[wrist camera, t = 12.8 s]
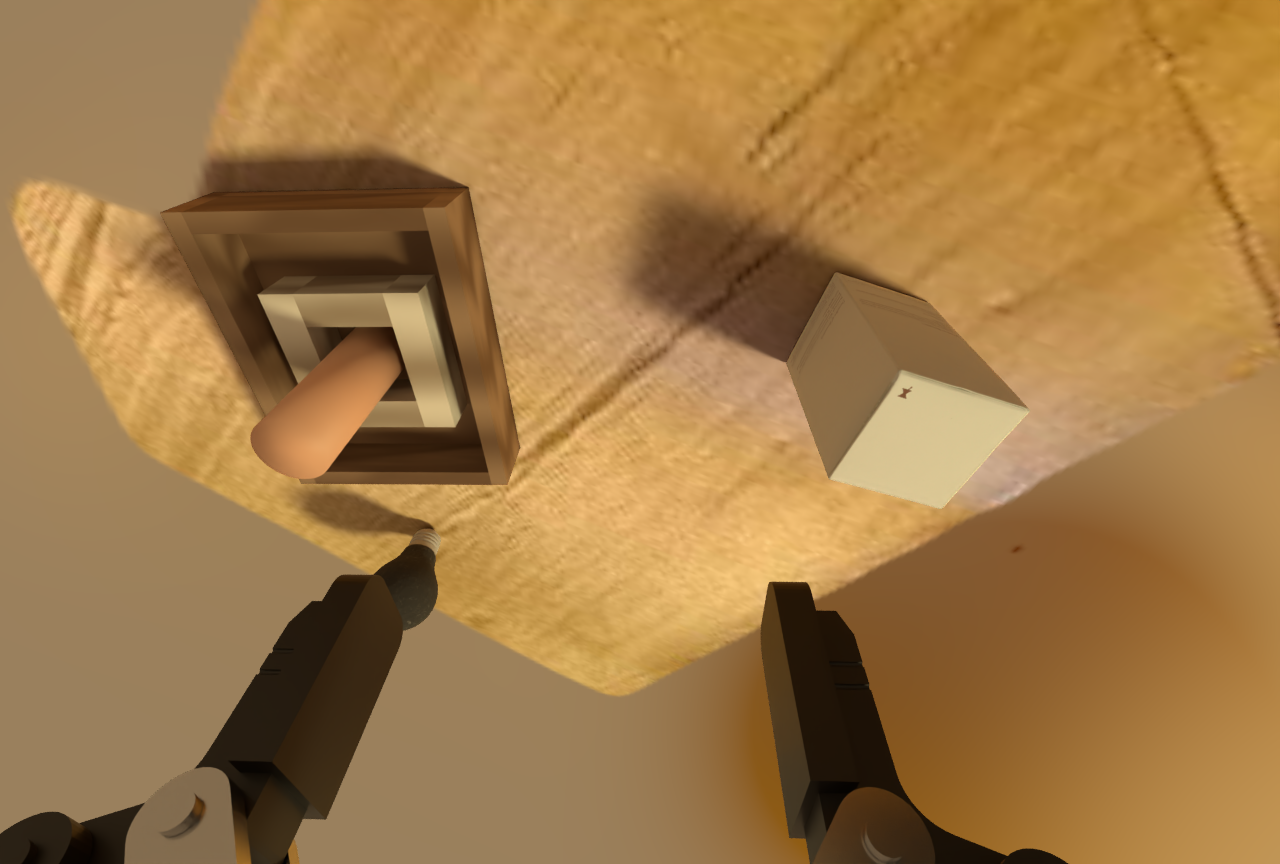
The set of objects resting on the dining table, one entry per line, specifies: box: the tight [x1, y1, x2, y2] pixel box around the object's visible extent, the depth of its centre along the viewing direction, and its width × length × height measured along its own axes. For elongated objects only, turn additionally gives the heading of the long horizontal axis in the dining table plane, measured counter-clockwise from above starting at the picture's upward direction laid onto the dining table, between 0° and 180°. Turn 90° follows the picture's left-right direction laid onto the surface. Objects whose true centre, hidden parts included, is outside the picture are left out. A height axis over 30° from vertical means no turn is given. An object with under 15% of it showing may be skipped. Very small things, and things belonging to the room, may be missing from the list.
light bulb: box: [374, 528, 441, 630], centre depth 48 cm, size 6×6×10 cm
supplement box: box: [786, 272, 1030, 509], centre depth 33 cm, size 7×7×13 cm
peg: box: [251, 327, 405, 479], centre depth 34 cm, size 4×4×12 cm
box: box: [160, 187, 520, 485], centre depth 38 cm, size 20×16×4 cm
